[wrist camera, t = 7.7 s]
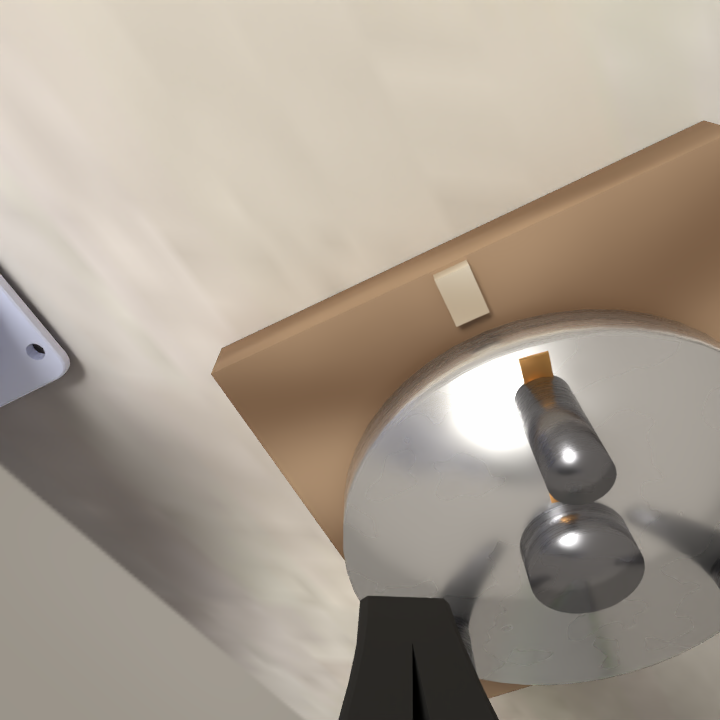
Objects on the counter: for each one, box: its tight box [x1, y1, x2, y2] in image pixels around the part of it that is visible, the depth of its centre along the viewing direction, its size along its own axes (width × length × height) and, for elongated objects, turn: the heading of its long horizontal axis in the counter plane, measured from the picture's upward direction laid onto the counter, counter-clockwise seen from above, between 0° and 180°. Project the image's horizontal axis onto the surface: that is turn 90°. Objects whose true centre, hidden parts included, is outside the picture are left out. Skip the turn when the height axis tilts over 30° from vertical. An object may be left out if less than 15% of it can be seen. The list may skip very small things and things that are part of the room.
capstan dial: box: [343, 309, 720, 685], centre depth 17 cm, size 13×13×4 cm
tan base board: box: [211, 121, 720, 698], centre depth 19 cm, size 17×14×2 cm
